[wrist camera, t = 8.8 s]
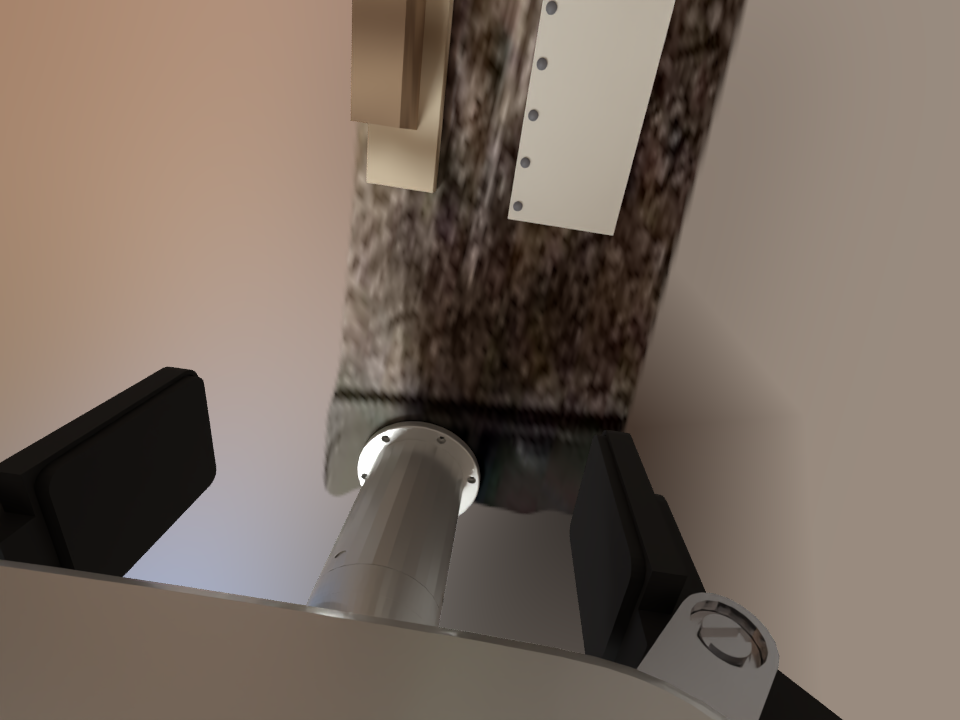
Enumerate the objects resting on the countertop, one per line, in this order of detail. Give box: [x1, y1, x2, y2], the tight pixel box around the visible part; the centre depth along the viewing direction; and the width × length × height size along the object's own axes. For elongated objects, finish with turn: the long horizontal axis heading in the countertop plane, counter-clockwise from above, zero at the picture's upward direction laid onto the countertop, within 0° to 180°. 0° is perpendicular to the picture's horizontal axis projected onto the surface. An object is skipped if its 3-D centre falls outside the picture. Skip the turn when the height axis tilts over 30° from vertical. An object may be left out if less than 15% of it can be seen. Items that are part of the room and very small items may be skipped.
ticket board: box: [508, 0, 675, 236], centre depth 31 cm, size 20×8×2 cm, turn 172°
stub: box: [351, 0, 454, 193], centre depth 28 cm, size 18×5×6 cm, turn 172°
